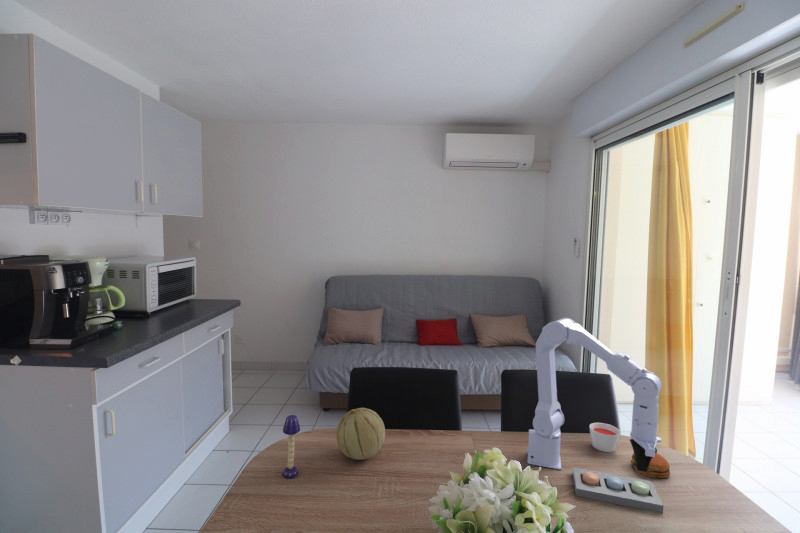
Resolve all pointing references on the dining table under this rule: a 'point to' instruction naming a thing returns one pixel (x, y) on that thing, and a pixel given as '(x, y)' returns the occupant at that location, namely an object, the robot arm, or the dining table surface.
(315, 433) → the dining table surface
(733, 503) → the dining table surface
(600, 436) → the candle
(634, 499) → the button panel
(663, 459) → the burger
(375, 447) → the cantaloupe
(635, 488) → the green button
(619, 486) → the blue button
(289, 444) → the toy lamp
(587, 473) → the terracotta button
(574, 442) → the dining table surface
